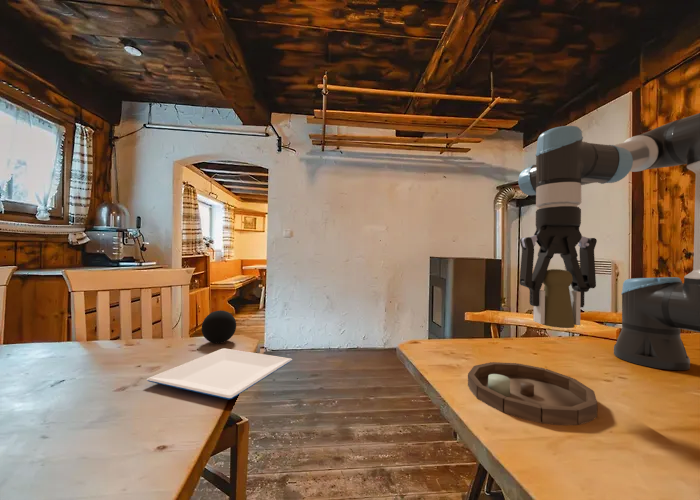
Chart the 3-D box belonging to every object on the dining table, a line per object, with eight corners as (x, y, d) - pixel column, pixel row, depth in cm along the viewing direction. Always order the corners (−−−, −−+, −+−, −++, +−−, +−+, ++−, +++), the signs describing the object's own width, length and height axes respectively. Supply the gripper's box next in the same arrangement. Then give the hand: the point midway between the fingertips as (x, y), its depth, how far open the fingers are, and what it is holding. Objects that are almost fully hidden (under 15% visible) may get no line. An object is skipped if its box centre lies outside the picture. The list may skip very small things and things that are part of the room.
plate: (145, 388, 65) (145, 378, 65) (222, 354, 86) (223, 347, 86) (230, 408, 57) (230, 397, 57) (293, 366, 78) (293, 358, 78)
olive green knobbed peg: (581, 329, 58) (581, 270, 58) (545, 326, 59) (546, 269, 59) (565, 321, 64) (566, 269, 64) (533, 320, 65) (534, 268, 65)
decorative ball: (197, 348, 90) (197, 314, 90) (206, 338, 100) (206, 308, 100) (233, 346, 92) (233, 313, 92) (238, 337, 102) (238, 307, 102)
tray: (551, 378, 72) (552, 364, 72) (631, 434, 50) (631, 413, 50) (456, 374, 73) (456, 360, 74) (492, 427, 52) (492, 406, 52)
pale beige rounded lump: (504, 388, 64) (504, 374, 64) (513, 397, 60) (513, 382, 60) (485, 387, 64) (485, 373, 64) (492, 396, 60) (492, 381, 60)
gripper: (593, 210, 65) (592, 320, 64) (501, 209, 66) (499, 317, 66) (623, 204, 57) (621, 329, 57) (517, 204, 58) (516, 326, 58)
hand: (556, 322), depth 61 cm, fingers closed on olive green knobbed peg, 6 cm apart
